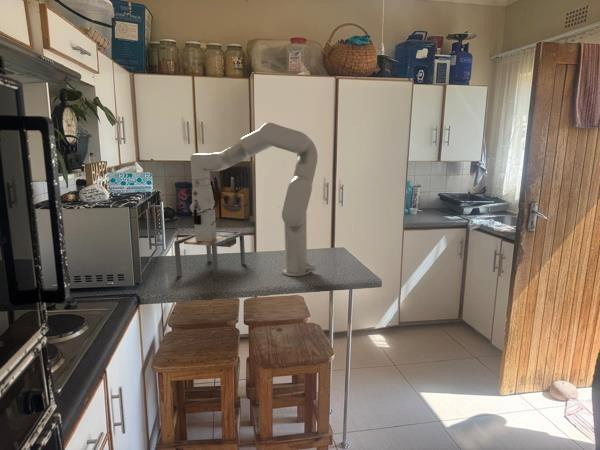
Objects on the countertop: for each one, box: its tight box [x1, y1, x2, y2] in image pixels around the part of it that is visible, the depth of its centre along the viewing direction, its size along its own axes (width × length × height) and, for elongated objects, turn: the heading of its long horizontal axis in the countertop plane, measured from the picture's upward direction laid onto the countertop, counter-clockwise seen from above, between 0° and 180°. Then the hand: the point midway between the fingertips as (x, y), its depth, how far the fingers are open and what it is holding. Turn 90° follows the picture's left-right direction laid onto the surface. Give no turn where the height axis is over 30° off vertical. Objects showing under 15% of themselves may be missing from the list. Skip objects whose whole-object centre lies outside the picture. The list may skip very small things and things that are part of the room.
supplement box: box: [194, 209, 217, 242], centre depth 171 cm, size 7×7×13 cm
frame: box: [173, 229, 246, 282], centre depth 177 cm, size 20×25×16 cm
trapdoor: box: [183, 232, 237, 248], centre depth 177 cm, size 16×17×5 cm
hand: (204, 222), depth 171 cm, fingers open, 9 cm apart
